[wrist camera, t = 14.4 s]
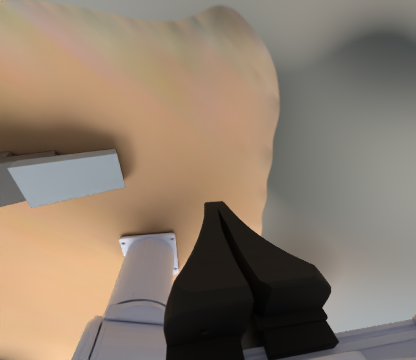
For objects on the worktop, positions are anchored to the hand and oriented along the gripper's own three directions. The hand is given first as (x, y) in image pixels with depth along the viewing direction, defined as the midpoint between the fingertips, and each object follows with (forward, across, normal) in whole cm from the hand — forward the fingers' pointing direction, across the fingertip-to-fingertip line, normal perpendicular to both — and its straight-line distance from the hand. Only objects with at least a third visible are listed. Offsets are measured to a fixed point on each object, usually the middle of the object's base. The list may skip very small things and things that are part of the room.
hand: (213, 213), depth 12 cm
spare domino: (+9, +9, 0) cm, 13 cm away
